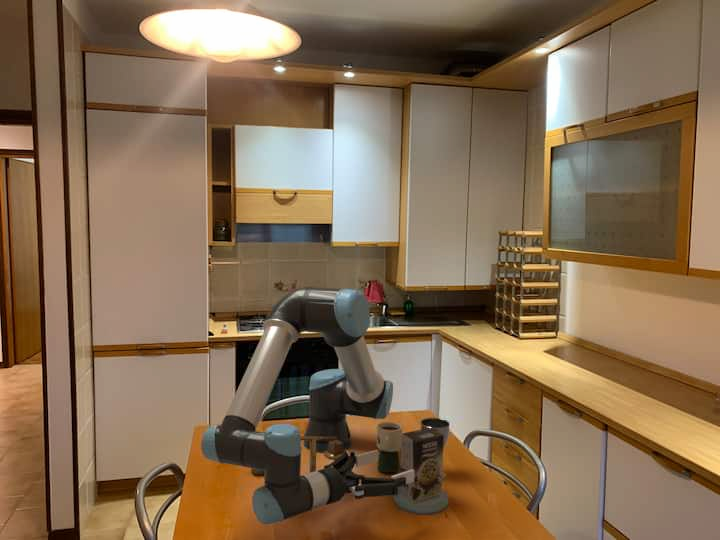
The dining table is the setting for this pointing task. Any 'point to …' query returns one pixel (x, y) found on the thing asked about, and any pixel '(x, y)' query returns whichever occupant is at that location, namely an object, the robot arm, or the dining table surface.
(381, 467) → the character mug
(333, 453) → the balance
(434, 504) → the dish
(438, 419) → the wine glass
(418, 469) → the coffee box
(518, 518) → the dining table surface
